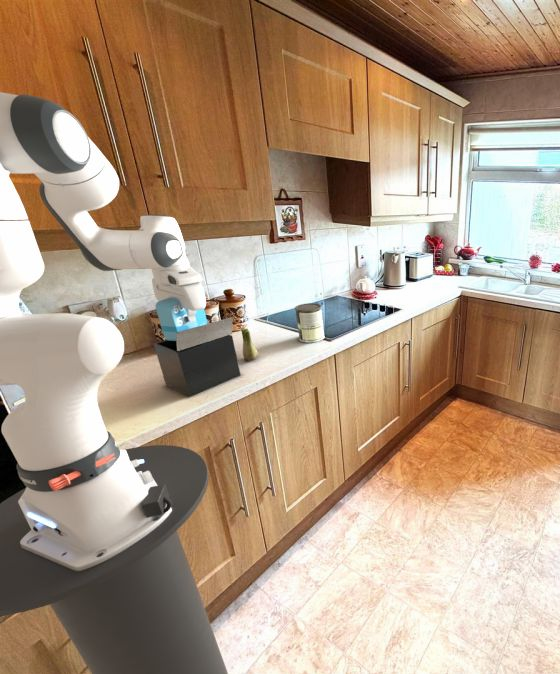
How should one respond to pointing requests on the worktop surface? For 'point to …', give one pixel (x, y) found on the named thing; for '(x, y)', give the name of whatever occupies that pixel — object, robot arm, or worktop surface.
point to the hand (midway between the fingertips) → (184, 319)
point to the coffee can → (310, 322)
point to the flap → (203, 333)
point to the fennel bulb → (248, 346)
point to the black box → (197, 364)
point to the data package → (176, 318)
